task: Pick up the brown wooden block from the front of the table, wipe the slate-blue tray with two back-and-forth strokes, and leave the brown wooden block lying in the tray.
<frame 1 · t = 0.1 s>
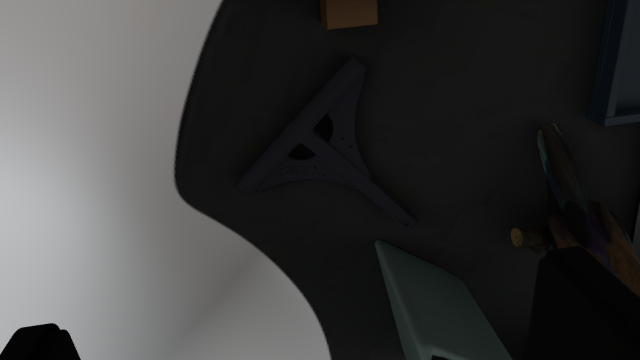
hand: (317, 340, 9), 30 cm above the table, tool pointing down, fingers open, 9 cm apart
bracket: (351, 170, 41), on the table
planter: (425, 290, 48), on the table
bird figurine: (543, 218, 46), on the table
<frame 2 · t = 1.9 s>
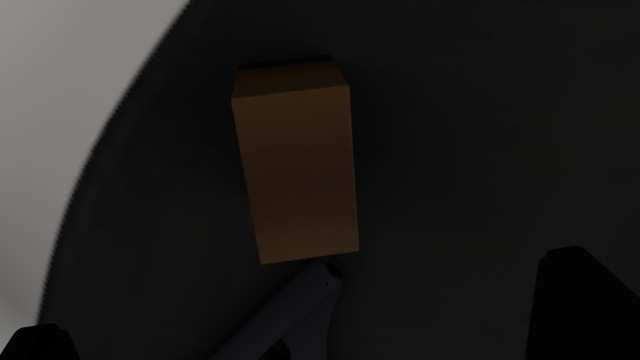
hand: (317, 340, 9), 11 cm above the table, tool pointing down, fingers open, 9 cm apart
brown wooden block: (293, 133, 19), on the table
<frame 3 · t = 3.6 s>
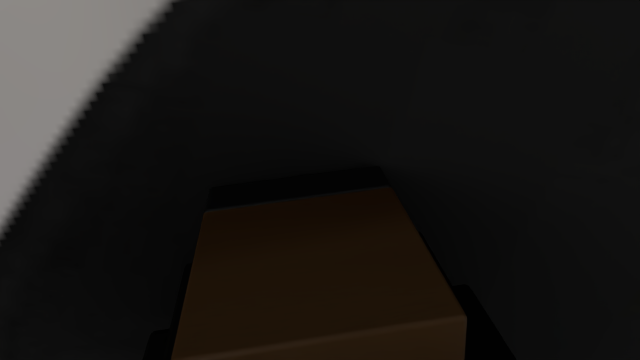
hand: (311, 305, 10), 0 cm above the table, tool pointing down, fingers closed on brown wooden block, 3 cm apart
brown wooden block: (309, 291, 11), on the table, touching gripper
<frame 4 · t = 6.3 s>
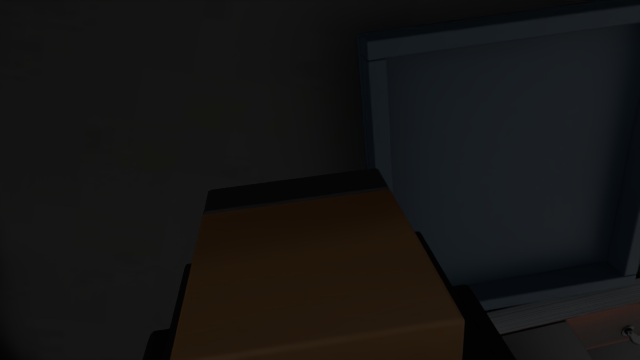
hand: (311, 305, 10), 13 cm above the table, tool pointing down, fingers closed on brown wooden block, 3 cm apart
tray: (501, 165, 25), on the table
brown wooden block: (308, 293, 11), point 13 cm above the table, touching gripper
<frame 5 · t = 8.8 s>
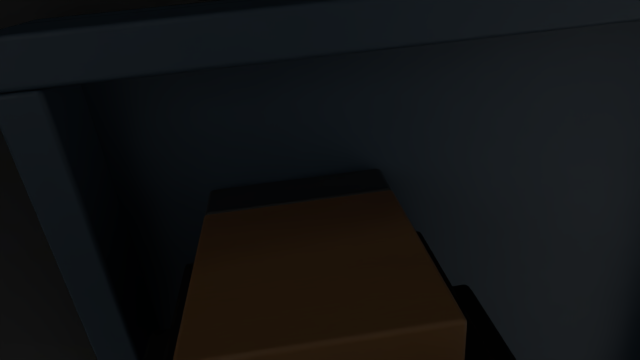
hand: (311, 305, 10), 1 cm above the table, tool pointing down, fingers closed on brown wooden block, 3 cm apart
tray: (422, 296, 12), on the table
brown wooden block: (310, 293, 11), point 1 cm above the table, touching gripper
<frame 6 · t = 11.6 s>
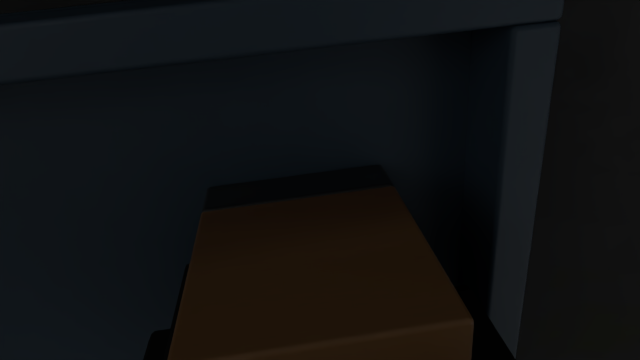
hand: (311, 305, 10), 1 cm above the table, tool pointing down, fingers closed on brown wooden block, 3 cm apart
tray: (192, 332, 12), on the table
brown wooden block: (310, 292, 10), point 1 cm above the table, touching gripper, tray
when the fingers open (1 cm above the table, at t = 13.8 s): brown wooden block stays where it is, resting on tray.
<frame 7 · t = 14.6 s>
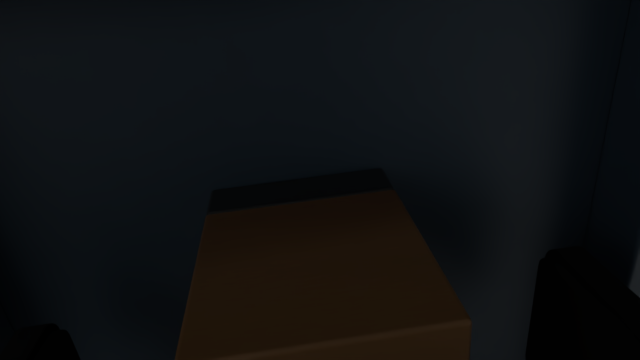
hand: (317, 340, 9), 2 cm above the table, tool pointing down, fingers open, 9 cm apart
tray: (307, 274, 11), on the table
brown wooden block: (312, 294, 11), point 1 cm above the table, touching tray
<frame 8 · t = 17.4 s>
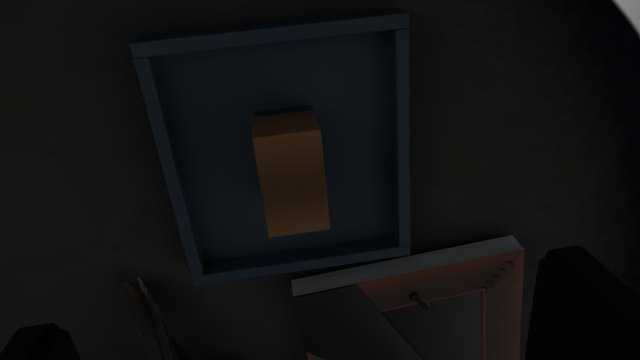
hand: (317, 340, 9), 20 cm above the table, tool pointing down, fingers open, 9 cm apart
picture frame: (410, 356, 39), on the table
tray: (287, 150, 29), on the table
brown wooden block: (288, 154, 28), point 1 cm above the table, touching tray
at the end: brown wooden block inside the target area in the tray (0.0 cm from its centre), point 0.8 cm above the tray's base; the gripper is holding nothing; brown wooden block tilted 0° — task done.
